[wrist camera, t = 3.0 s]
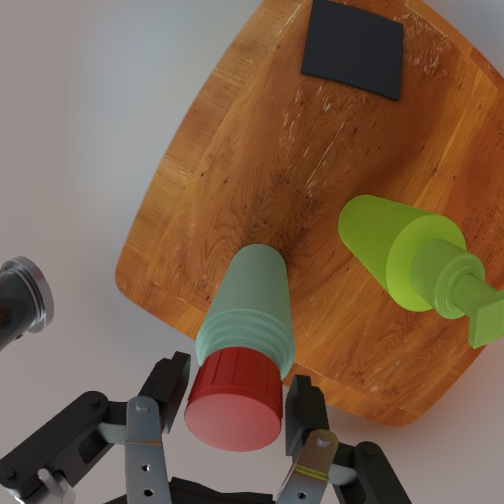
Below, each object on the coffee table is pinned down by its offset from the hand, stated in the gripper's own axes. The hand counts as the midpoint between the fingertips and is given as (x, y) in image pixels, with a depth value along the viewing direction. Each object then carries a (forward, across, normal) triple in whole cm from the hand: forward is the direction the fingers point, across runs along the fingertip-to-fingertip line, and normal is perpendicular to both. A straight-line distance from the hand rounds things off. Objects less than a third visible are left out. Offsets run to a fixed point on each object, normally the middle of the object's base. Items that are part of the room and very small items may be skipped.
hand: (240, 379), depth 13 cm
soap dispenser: (+17, +10, +7) cm, 20 cm away
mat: (+16, +5, +25) cm, 30 cm away
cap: (0, 0, 0) cm, 0 cm away
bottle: (+16, 0, 0) cm, 16 cm away
